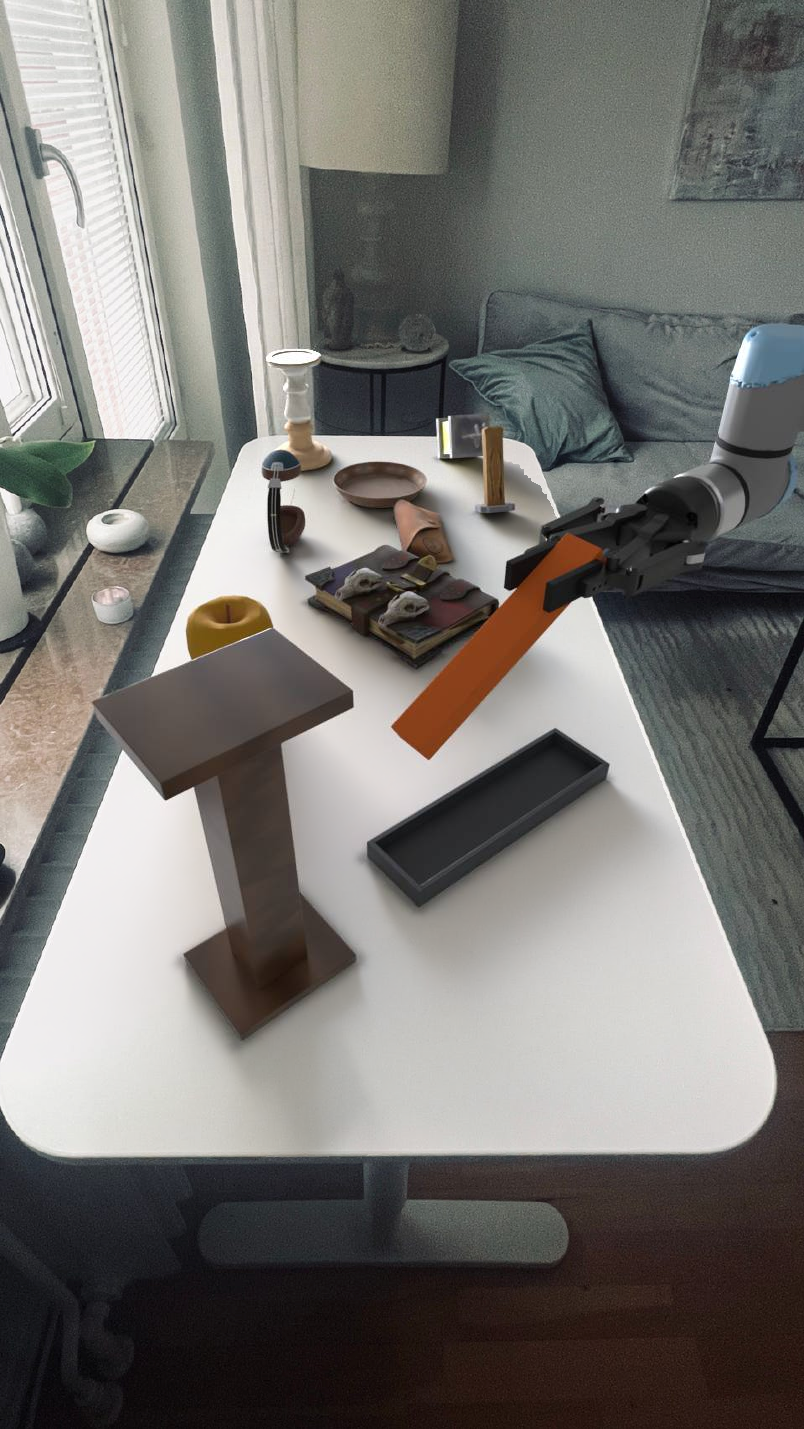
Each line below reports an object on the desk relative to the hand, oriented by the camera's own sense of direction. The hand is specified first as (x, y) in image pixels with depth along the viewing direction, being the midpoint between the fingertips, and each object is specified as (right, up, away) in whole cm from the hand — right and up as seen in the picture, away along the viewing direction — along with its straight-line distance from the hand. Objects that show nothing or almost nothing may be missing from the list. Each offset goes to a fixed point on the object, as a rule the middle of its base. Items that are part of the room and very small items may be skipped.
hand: (527, 586), depth 68 cm
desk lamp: (+3, +34, +85) cm, 92 cm away
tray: (-1, -22, +17) cm, 28 cm away
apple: (-32, -8, +34) cm, 48 cm away
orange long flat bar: (-2, -5, +3) cm, 6 cm away
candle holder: (-32, +41, +95) cm, 108 cm away
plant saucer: (-15, +31, +82) cm, 89 cm away
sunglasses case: (-7, +19, +67) cm, 70 cm away
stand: (-23, -33, +3) cm, 41 cm away
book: (-11, +4, +49) cm, 50 cm away
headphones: (-31, +19, +67) cm, 76 cm away
